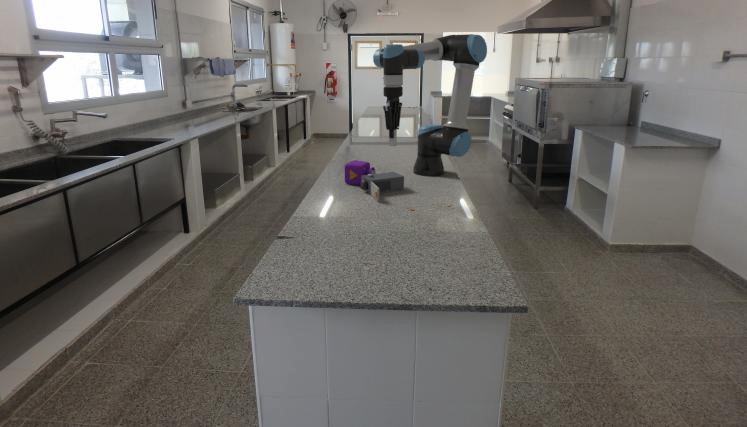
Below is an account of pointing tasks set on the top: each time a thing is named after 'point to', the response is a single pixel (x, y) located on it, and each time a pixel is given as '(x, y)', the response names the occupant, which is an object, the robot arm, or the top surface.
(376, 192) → the side door
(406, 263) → the top surface
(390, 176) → the box
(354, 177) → the toy camera
